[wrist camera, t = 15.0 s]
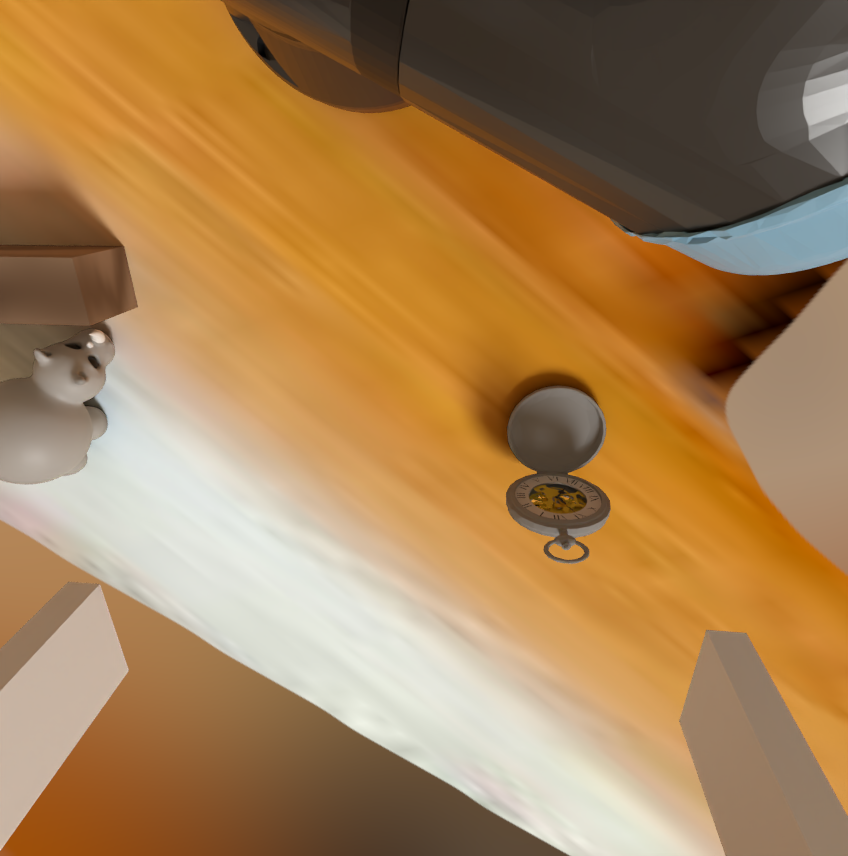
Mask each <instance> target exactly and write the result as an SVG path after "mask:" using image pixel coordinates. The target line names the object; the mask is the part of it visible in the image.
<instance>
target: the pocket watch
mask: <svg viewBox="0 0 848 856" xmlns="http://www.w3.org/2000/svg"><path fill="white" fill-rule="evenodd" d="M507 434H508V443H509V446H510V448H511V450H512V452H513V453H514V455H515V456H516V458H517V459H518V460H519V461H520V462H521V463H523V464H524V465H525V466H527V467H528V468H530V469H532V470H535V471H537V474H532V475H529V476H525V477H523V478H521V479H518V480H516V481H515V482H514V483H513V484H511V485H510V487H509V489H508V490H507V492H506V505H507V507H508V511H509V513H510V515H511V516H512V518H513V519H514V520H515V521H516V522H518V523H519V524H520V525H521V526H523V527H525V528H527V529H529V530H531V531H533V532H536V533H539V534H541V535H546V536H551V537H556V538H555V539H554V540H552V541H549V542H548V543H547V544H546V545H545V546H544V553H545V554H546V555H547V556H548V557H549V558H551V559H553V560H555V561H557V562H561V563H571V564H573V563H578V562H581V561H584V560H585V559H586V558H588V556H589V549H588V548H587V547H586V546H585V545H584V544H582V543H580V542H578V541H576V539H575V538H576V537H581V536H586V535H589V534H592V533H594V532H596V531H597V530H599V529H600V528H601V527H602V526H603V525H604V524H605V522H606V520H607V518H608V517H609V513H610V500H609V499H608V497H607V495H606V494H605V493H604V492H603V491H602V490H601V489H600V488H599V487H597V486H596V485H594V484H592V483H590V482H588V481H586V480H584V479H582V478H579V477H576V476H572V475H568V472H572V471H574V470H577V469H579V468H581V467H583V466H585V465H586V464H587V463H589V462H590V461H591V460H592V459H593V458H594V457H595V456H596V455H597V453H598V452H599V450H600V449H601V447H602V445H603V442H604V439H605V435H606V423H605V418H604V415H603V412H602V411H601V409H600V408H599V406H598V405H597V403H596V402H595V401H594V399H593V398H591V397H590V396H588V395H587V394H586V393H584V392H582V391H580V390H578V389H576V388H572V387H568V386H549V387H545V388H542V389H538V390H535V391H534V392H532V393H531V394H529V395H527V396H526V397H524V398H523V399H522V400H521V401H520V402H519V403H518V404H517V406H516V407H515V408H514V410H513V412H512V413H511V416H510V419H509V422H508V426H507ZM539 496H540V497H541V498H542V496H543V497H545V498H542V499H540V498H538V497H539ZM559 496H564V497H568V498H569V499H568V500H565V499H564V498H561V497H559ZM533 499H535V500H539V501H542V502H538V501H536V502H534V503H532V502H531V500H533ZM563 500H564V501H563ZM572 501H575V502H572ZM540 503H543V504H540ZM545 503H546V504H545ZM537 506H538V507H537ZM540 506H541V507H540ZM546 506H547V507H546ZM541 508H543V509H544V510H543V509H541ZM548 508H549V509H548ZM554 543H555V544H557V545H559V546H562V548H563V549H564V550H569V549H570V548H571V546H573V545H575V544H576V545H578V546H580V547H581V548H582V549H583V550H584V552H585V553H584V555H583V556H582V557H580V558H578V559H575V560H564V559H561V558H557V557H554V556H553V555H552V554H551V553H550V552H549V551H548V549H549V547H550V546H551V545H552V544H554Z"/></svg>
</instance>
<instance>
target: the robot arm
mask: <svg viewBox="0 0 848 856" xmlns="http://www.w3.org/2000/svg"><path fill="white" fill-rule="evenodd" d="M221 1H223V2H224V3H225V5H226V8H227V10H228V12H229V14H230V16H231V17H232V19H233V21H234V23H235V25H236V26H237V28H238V30H239V31H240V33H241V34H242V36H243V37H244V39H245V40H246V42H247V43H248V44H249V46H250V47H251V48H252V50H253V51H254V52H255V53H256V54H257V56H258V57H259V58H260V59H261V60H262V61H263V62H264V63H265V64H266V65H267V66H268V68H270V69H271V70H272V71H273V72H274V73H275V74H276V75H277V76H278V77H280V78H281V79H282V80H283V81H285V82H286V83H287V84H289V85H290V86H291V87H293V88H294V89H296V90H298V91H299V92H301V93H303V94H304V95H306V96H308V97H311V98H313V99H315V100H317V101H320V102H322V103H325V104H327V105H330V106H332V107H336V108H339V109H342V110H347V111H352V112H361V113H380V112H388V111H393V110H397V109H401V108H405V107H408V106H411V105H412V106H414V107H416V108H417V109H419V110H421V111H423V112H424V113H426V114H428V115H430V116H431V117H433V118H435V119H437V120H438V121H440V122H442V123H444V124H446V125H447V126H449V127H451V128H453V129H454V130H456V131H458V132H460V133H461V134H463V135H465V136H467V137H468V138H470V139H472V140H474V141H475V142H477V143H479V144H481V145H482V146H484V147H486V148H488V149H489V150H491V151H493V152H495V153H497V154H498V155H500V156H502V157H504V158H505V159H507V160H509V161H511V162H512V163H514V164H516V165H518V166H519V167H521V168H523V169H525V170H526V171H528V172H530V173H532V174H533V175H535V176H537V177H539V178H540V179H542V180H544V181H546V182H548V183H549V184H551V185H553V186H555V187H556V188H558V189H560V190H562V191H563V192H565V193H567V194H569V195H570V196H572V197H574V198H576V199H577V200H579V201H581V202H583V203H584V204H586V205H588V206H590V207H592V208H593V209H595V210H597V211H599V212H600V213H602V214H604V215H606V216H607V217H609V218H610V219H611V220H612V221H613V223H614V224H615V225H616V226H617V227H619V228H620V229H621V230H623V231H624V232H626V233H627V234H629V235H630V236H638V237H639V238H640V239H642V240H643V241H646V242H651V243H656V244H662V245H667V246H669V247H671V248H673V249H675V250H677V251H679V252H681V253H683V254H685V255H687V256H689V257H691V258H693V259H695V260H697V261H699V262H701V263H703V264H705V265H707V266H710V267H713V268H715V269H718V270H722V271H726V272H731V273H737V274H744V275H774V274H784V273H790V272H796V271H801V270H806V269H810V268H815V267H818V266H822V265H826V264H829V263H832V262H836V261H839V260H842V259H845V258H848V0H221ZM128 671H129V670H128V667H127V664H126V661H125V658H124V655H123V652H122V649H121V646H120V643H119V640H118V638H117V634H116V631H115V628H114V625H113V622H112V619H111V616H110V613H109V610H108V607H107V604H106V601H105V598H104V595H103V592H102V589H101V586H100V584H90V583H78V582H68V583H67V584H66V585H65V586H64V587H63V588H62V589H61V590H60V591H58V592H57V594H55V595H54V596H53V597H52V599H50V600H49V601H48V602H47V603H46V604H45V605H44V606H43V607H42V608H41V609H40V610H39V611H38V612H37V613H36V614H35V615H34V616H33V617H32V618H31V619H30V620H29V621H28V622H27V623H26V624H25V625H24V626H23V627H22V628H21V629H20V630H19V631H18V632H17V633H16V634H15V635H14V636H13V637H12V638H11V639H10V640H9V641H8V642H7V643H6V644H5V645H4V646H3V647H2V648H1V649H0V850H1V849H2V848H3V846H4V845H5V843H6V842H7V841H8V839H9V838H10V836H11V835H12V834H13V832H14V831H15V829H16V828H17V826H18V825H19V824H20V822H21V821H22V819H23V818H24V817H25V815H26V814H27V812H28V811H29V810H30V808H31V807H32V806H33V804H34V803H35V801H36V800H37V798H38V797H39V796H40V794H41V793H42V792H43V790H44V789H45V787H46V786H47V785H48V783H49V782H50V780H51V779H52V777H53V776H54V775H55V773H56V772H57V771H58V769H59V768H60V766H61V765H62V763H63V762H64V761H65V759H66V758H67V757H68V755H69V754H70V752H71V751H72V750H73V748H74V747H75V745H76V744H77V742H78V741H79V740H80V738H81V737H82V736H83V734H84V733H85V731H86V730H87V728H88V727H89V726H90V724H91V723H92V721H93V720H94V719H95V717H96V716H97V715H98V713H99V712H100V710H101V709H102V708H103V706H104V705H105V703H106V702H107V700H108V699H109V698H110V696H111V695H112V693H113V692H114V691H115V689H116V688H117V687H118V685H119V684H120V682H121V681H122V679H123V678H124V677H125V675H126V674H127V673H128ZM679 722H680V725H681V727H682V730H683V733H684V736H685V739H686V742H687V745H688V748H689V751H690V754H691V756H692V759H693V762H694V765H695V768H696V771H697V774H698V777H699V780H700V783H701V785H702V788H703V791H704V794H705V797H706V800H707V803H708V806H709V809H710V812H711V814H712V817H713V820H714V823H715V826H716V829H717V832H718V835H719V838H720V841H721V844H722V846H723V849H724V852H725V855H726V856H848V816H847V814H846V813H845V811H844V809H843V807H842V805H841V804H840V802H839V800H838V798H837V796H836V794H835V793H834V791H833V789H832V787H831V785H830V784H829V782H828V780H827V778H826V776H825V775H824V773H823V771H822V769H821V767H820V766H819V764H818V762H817V760H816V758H815V757H814V755H813V753H812V751H811V749H810V747H809V746H808V744H807V742H806V740H805V738H804V737H803V735H802V733H801V731H800V729H799V728H798V726H797V724H796V722H795V720H794V719H793V717H792V715H791V713H790V711H789V710H788V708H787V706H786V704H785V702H784V700H783V699H782V697H781V695H780V693H779V691H778V690H777V688H776V686H775V684H774V682H773V681H772V679H771V677H770V675H769V673H768V672H767V670H766V668H765V666H764V664H763V663H762V661H761V659H760V657H759V655H758V653H757V652H756V650H755V648H754V646H753V644H752V643H751V641H750V639H749V637H748V635H747V634H746V633H739V632H726V631H713V630H706V633H705V637H704V640H703V643H702V647H701V650H700V653H699V657H698V660H697V663H696V667H695V670H694V674H693V677H692V680H691V684H690V687H689V690H688V694H687V697H686V700H685V704H684V707H683V711H682V714H681V717H680V721H679Z"/></svg>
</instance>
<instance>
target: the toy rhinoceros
mask: <svg viewBox="0 0 848 856" xmlns="http://www.w3.org/2000/svg"><path fill="white" fill-rule="evenodd" d="M114 355H115V348H114V344H113V342H112V341H111V339H110V338H109V337H108V336H107V335H106V334H105V333H103V332H102V331H100V330H95V329H94V328H89V329H86V330H83V331H80V332H79V333H77V334H75V335H74V336H73V337H71V338H70V339H68V340H66V341H63V342H60V343H57V344H54V345H51V346H48V347H46V348H44V349H38V348H35V349H34V356H35V360H34V363H33V375H32V376H31V377H29V378H17V379H11V380H6V381H3V382H0V480H2V481H5V482H9V483H15V484H38V483H44V482H48V481H51V480H54V479H56V478H59V477H61V476H67V475H72V474H75V473H77V472H79V471H80V470H81V469H83V468H84V466H85V465H86V463H87V451H88V449H89V447H90V444H91V441H92V440H95V439H97V438H99V437H101V436H102V435H103V434H104V433H105V432H106V430H107V425H108V423H107V418H106V416H105V414H104V413H103V412H102V411H101V410H100V409H98V408H95V407H90V406H84V404H83V402H84V401H87V400H89V399H91V398H93V397H94V396H96V395H97V394H98V393H99V392H100V391H101V389H102V388H103V386H104V384H105V380H106V374H105V368H106V366H107V365H108V364H109V363H110V362H111V361H112V359H113V358H114Z"/></svg>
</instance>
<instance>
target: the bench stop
mask: <svg viewBox="0 0 848 856" xmlns="http://www.w3.org/2000/svg"><path fill="white" fill-rule="evenodd" d="M136 307H138V306H137V301H136V297H135V293H134V288H133V284H132V280H131V275H130V271H129V267H128V262H127V258H126V254H125V249H124V246H37V245H0V323H5V324H43V325H81V326H91V325H94V324H96V323H99V322H101V321H104V320H106V319H109V318H111V317H114V316H116V315H119V314H121V313H124V312H126V311H129V310H131V309H134V308H136Z"/></svg>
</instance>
